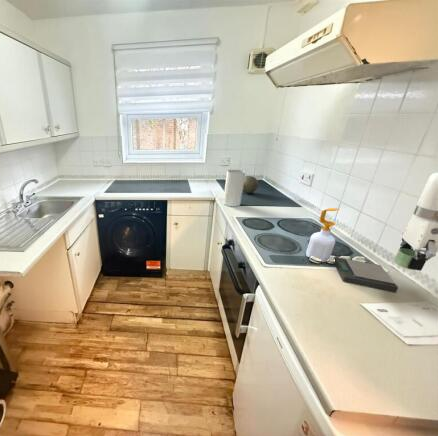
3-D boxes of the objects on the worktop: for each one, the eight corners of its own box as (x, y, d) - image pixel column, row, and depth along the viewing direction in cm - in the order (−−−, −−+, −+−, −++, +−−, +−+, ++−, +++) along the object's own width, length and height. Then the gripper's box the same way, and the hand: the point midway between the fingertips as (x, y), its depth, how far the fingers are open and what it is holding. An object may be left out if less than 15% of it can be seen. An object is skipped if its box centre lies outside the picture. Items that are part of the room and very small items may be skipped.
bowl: (414, 262, 81) (420, 250, 79) (425, 272, 75) (432, 260, 74) (389, 258, 83) (394, 246, 82) (399, 268, 78) (404, 256, 76)
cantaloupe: (238, 190, 213) (241, 174, 207) (255, 192, 209) (258, 175, 203) (238, 195, 200) (241, 177, 195) (257, 196, 196) (260, 178, 190)
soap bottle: (323, 264, 105) (341, 213, 95) (301, 255, 112) (316, 207, 102) (332, 258, 109) (349, 209, 100) (311, 250, 116) (325, 203, 107)
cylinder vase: (243, 204, 180) (248, 171, 170) (235, 208, 172) (240, 174, 162) (227, 200, 188) (232, 168, 178) (219, 204, 180) (223, 171, 170)
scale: (378, 269, 101) (380, 263, 100) (395, 292, 88) (399, 286, 87) (333, 261, 107) (335, 255, 106) (343, 281, 94) (345, 275, 93)
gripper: (470, 226, 64) (439, 281, 70) (431, 206, 78) (408, 253, 85) (432, 222, 66) (406, 275, 73) (401, 203, 81) (382, 249, 88)
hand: (408, 262), depth 79 cm, fingers closed on bowl, 6 cm apart
